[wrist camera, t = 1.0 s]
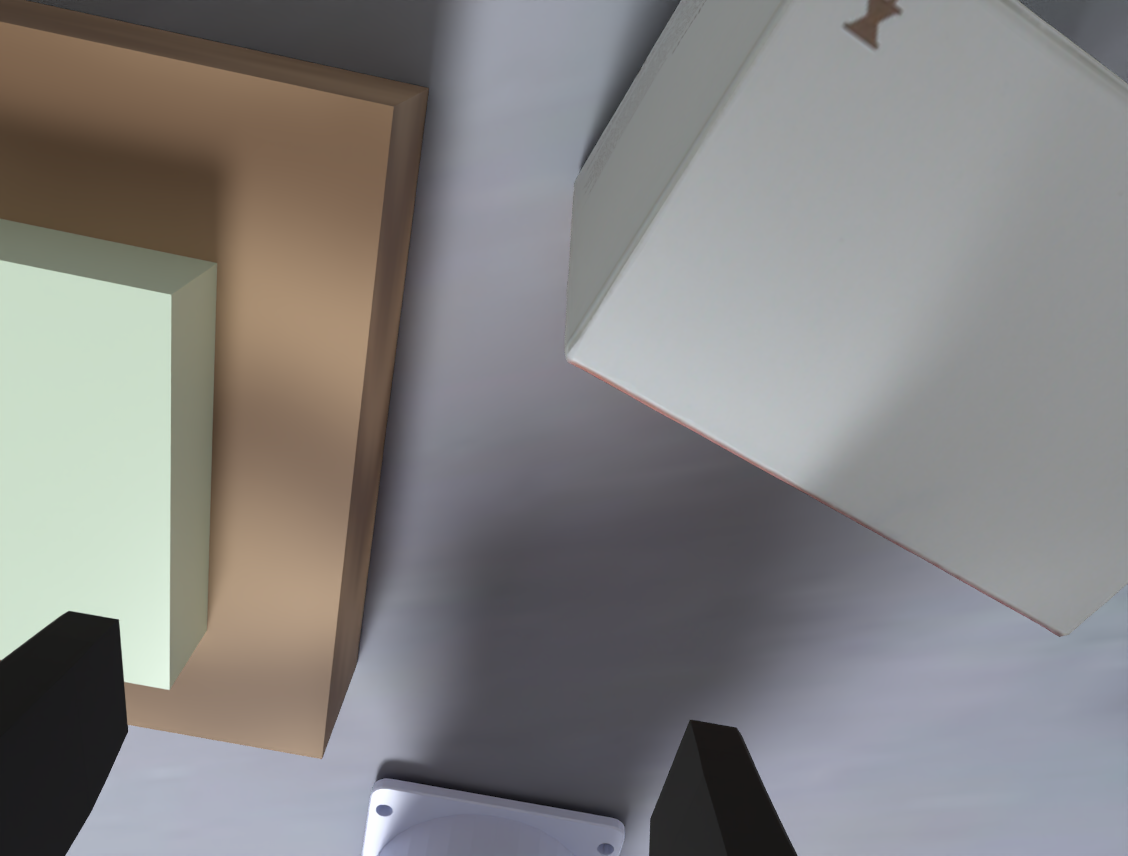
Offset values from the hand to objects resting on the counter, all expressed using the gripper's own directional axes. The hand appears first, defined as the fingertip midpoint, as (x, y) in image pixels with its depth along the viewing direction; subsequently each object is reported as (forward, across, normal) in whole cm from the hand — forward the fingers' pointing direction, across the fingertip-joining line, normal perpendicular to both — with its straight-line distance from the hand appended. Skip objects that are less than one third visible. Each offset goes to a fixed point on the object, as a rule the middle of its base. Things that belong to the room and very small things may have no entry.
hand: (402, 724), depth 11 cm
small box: (+12, -6, -5) cm, 14 cm away
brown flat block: (+11, +9, +3) cm, 15 cm away
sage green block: (+8, +8, +2) cm, 12 cm away
